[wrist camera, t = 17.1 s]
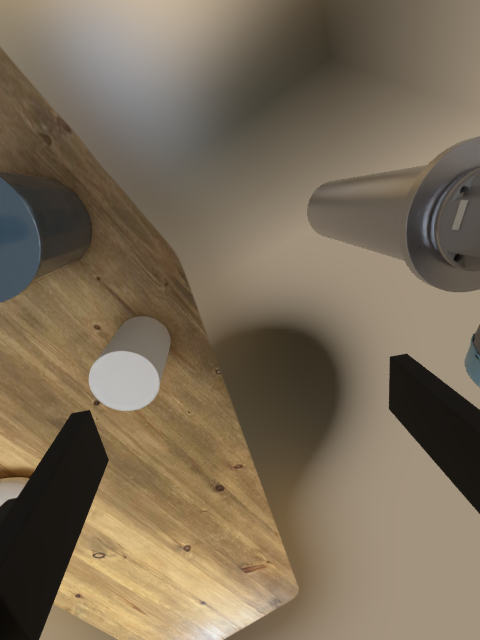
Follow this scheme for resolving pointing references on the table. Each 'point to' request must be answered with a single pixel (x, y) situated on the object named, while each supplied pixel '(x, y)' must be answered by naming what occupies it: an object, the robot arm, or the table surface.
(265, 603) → the table surface
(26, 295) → the table surface
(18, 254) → the canister lid
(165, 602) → the table surface
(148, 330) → the white cylinder
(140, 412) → the table surface
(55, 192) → the canister
